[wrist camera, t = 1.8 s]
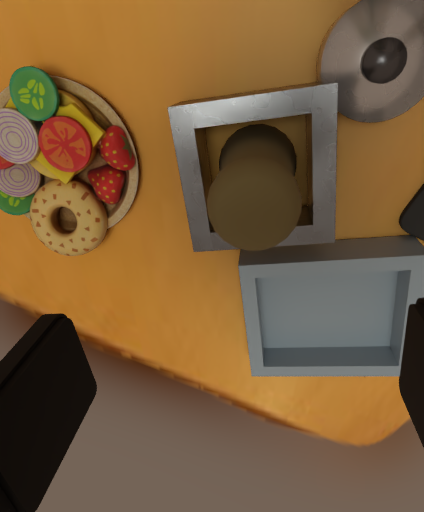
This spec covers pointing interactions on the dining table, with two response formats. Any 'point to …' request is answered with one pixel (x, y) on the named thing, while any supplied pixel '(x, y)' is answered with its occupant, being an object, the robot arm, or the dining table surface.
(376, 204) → the dining table surface
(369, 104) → the collar
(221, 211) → the cork
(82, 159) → the toy food set
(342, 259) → the tray
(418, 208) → the phone
